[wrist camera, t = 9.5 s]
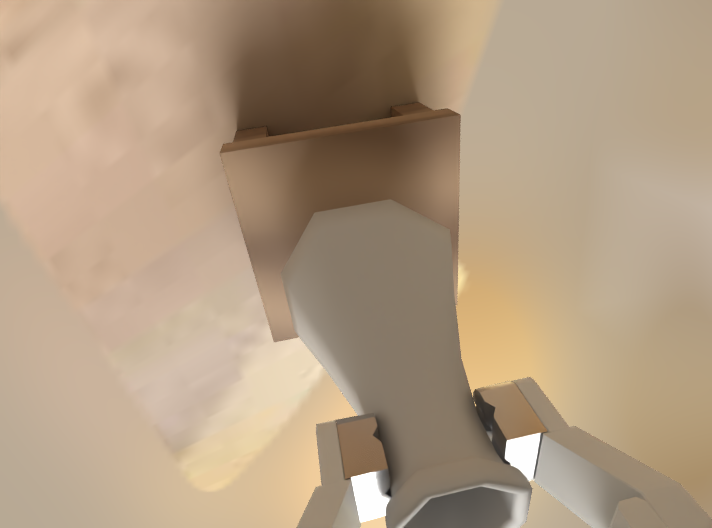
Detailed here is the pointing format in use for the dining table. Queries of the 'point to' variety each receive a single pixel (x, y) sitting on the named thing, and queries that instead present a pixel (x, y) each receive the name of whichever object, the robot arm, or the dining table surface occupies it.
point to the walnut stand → (338, 185)
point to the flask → (402, 361)
